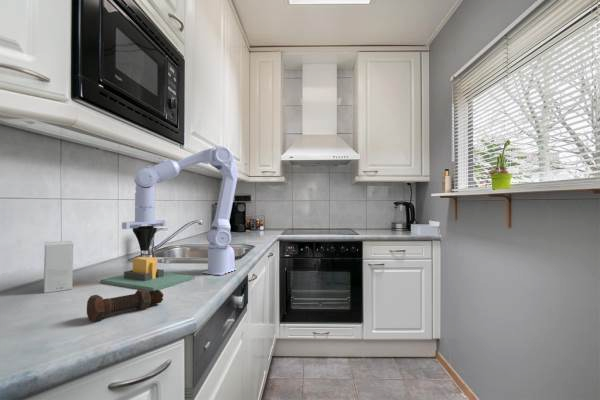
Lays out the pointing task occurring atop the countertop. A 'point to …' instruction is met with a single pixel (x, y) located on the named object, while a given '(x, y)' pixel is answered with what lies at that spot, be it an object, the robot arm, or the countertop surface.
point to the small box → (58, 266)
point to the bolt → (121, 303)
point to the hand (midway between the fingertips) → (144, 250)
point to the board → (147, 280)
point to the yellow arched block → (145, 265)
